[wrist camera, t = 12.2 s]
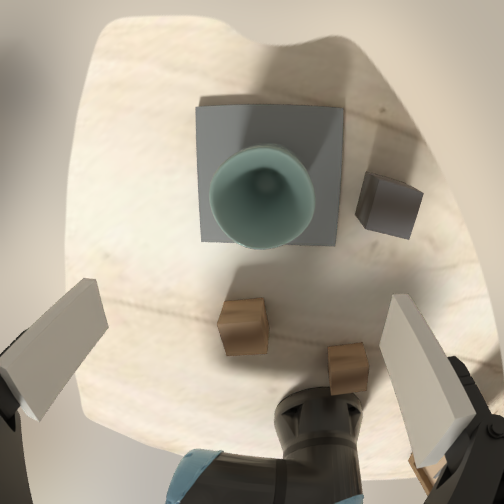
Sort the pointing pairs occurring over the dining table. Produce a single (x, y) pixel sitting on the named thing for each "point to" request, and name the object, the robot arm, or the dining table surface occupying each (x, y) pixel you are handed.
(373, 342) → the dining table surface
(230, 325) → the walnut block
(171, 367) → the dining table surface
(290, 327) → the dining table surface
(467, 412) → the robot arm
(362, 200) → the charcoal block front
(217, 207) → the cup
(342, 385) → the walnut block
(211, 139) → the slate board
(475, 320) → the dining table surface
